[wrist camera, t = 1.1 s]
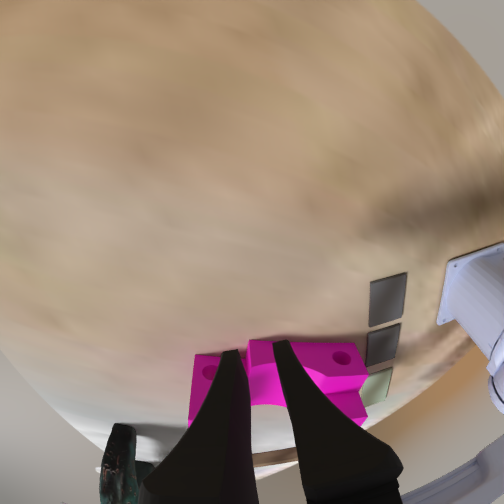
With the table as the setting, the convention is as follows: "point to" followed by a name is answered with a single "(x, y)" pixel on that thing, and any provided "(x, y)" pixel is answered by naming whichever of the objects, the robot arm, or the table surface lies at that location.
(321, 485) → the robot arm
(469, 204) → the table surface
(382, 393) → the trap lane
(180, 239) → the table surface
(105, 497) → the ceramic cat
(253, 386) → the toy block
